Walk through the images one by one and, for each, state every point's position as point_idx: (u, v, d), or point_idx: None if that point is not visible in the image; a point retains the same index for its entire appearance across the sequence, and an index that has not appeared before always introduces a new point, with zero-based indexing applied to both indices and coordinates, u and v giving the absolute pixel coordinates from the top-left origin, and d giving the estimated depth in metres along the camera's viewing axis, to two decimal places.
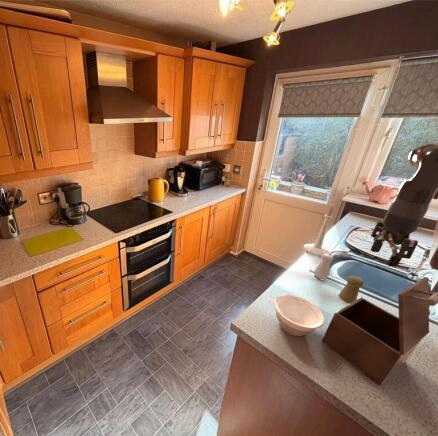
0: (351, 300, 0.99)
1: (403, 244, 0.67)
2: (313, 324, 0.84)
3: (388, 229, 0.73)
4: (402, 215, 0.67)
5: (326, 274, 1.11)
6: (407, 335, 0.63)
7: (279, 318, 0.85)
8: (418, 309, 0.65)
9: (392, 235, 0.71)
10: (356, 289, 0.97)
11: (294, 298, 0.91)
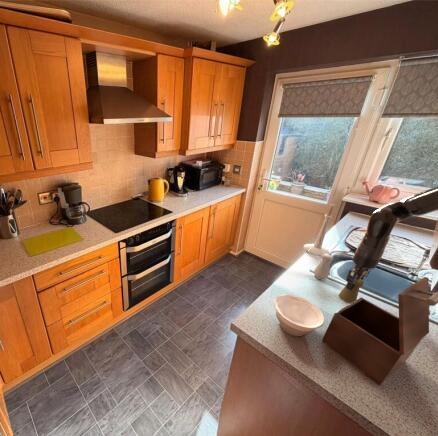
0: (351, 300, 0.99)
1: None
2: (313, 324, 0.84)
3: None
4: (357, 252, 0.93)
5: (326, 274, 1.11)
6: (407, 335, 0.63)
7: (279, 318, 0.85)
8: (418, 309, 0.65)
9: (354, 267, 0.96)
10: (356, 289, 0.97)
11: (294, 298, 0.91)
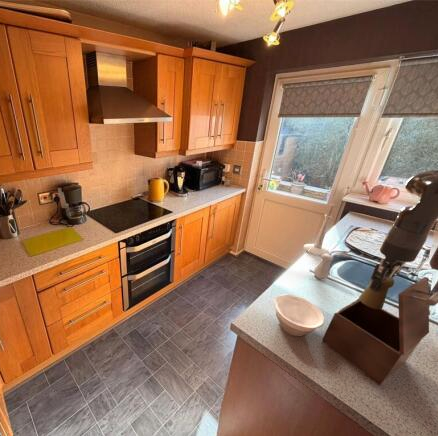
0: (377, 305, 0.74)
1: None
2: (313, 324, 0.84)
3: None
4: (387, 239, 0.68)
5: (326, 274, 1.11)
6: (407, 335, 0.63)
7: (279, 318, 0.85)
8: (418, 309, 0.65)
9: (382, 260, 0.71)
10: (383, 290, 0.72)
11: (294, 298, 0.91)
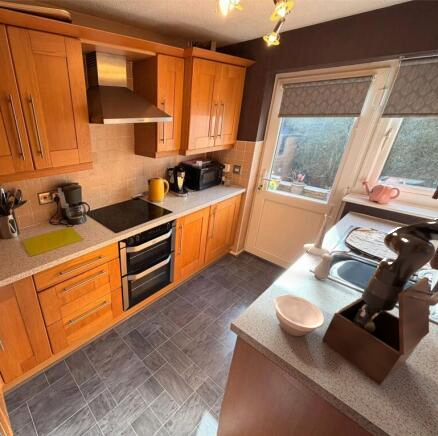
0: None
1: None
2: (313, 324, 0.84)
3: None
4: (368, 288, 0.72)
5: (326, 274, 1.11)
6: (407, 335, 0.63)
7: (279, 318, 0.85)
8: (418, 309, 0.65)
9: (364, 305, 0.74)
10: None
11: (294, 298, 0.91)
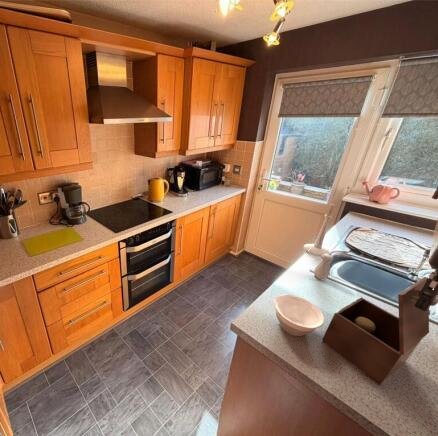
0: None
1: (426, 283, 0.58)
2: (313, 324, 0.84)
3: None
4: None
5: (326, 274, 1.11)
6: (407, 335, 0.63)
7: (279, 318, 0.85)
8: (418, 309, 0.65)
9: (432, 274, 0.60)
10: None
11: (294, 298, 0.91)
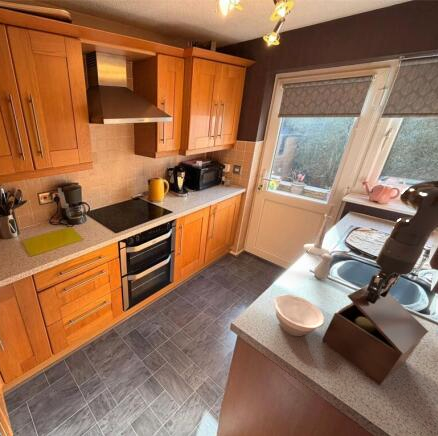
0: None
1: None
2: (313, 324, 0.84)
3: None
4: (383, 251, 0.67)
5: (326, 274, 1.11)
6: (391, 333, 0.66)
7: (279, 318, 0.85)
8: (386, 307, 0.72)
9: (378, 271, 0.70)
10: None
11: (294, 298, 0.91)
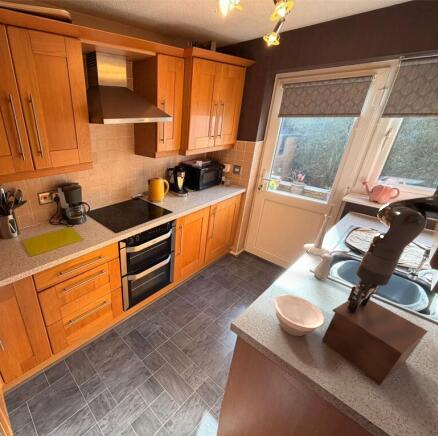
0: None
1: None
2: (313, 324, 0.84)
3: None
4: (362, 263, 0.72)
5: (326, 274, 1.11)
6: (385, 336, 0.68)
7: (279, 318, 0.85)
8: (374, 315, 0.75)
9: (358, 282, 0.75)
10: None
11: (294, 298, 0.91)
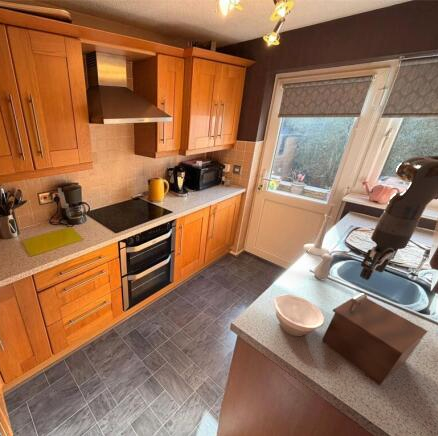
0: None
1: None
2: (313, 324, 0.84)
3: None
4: (378, 226, 0.67)
5: (326, 274, 1.11)
6: (385, 336, 0.68)
7: (279, 318, 0.85)
8: (374, 315, 0.75)
9: (374, 248, 0.70)
10: None
11: (294, 298, 0.91)
